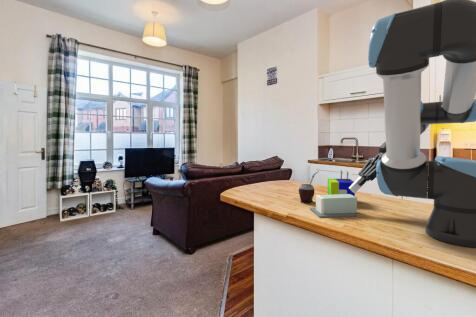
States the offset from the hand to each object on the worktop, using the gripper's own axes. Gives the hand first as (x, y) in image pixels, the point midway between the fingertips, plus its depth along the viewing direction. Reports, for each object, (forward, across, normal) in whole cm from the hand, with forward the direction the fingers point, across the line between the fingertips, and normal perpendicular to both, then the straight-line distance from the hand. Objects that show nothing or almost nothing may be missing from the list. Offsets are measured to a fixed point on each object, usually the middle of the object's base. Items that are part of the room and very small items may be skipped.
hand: (351, 190), depth 100 cm
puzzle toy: (+4, +16, -8) cm, 19 cm away
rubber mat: (+12, 0, 0) cm, 12 cm away
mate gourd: (+15, +18, +2) cm, 23 cm away
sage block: (+3, 0, -4) cm, 5 cm away
